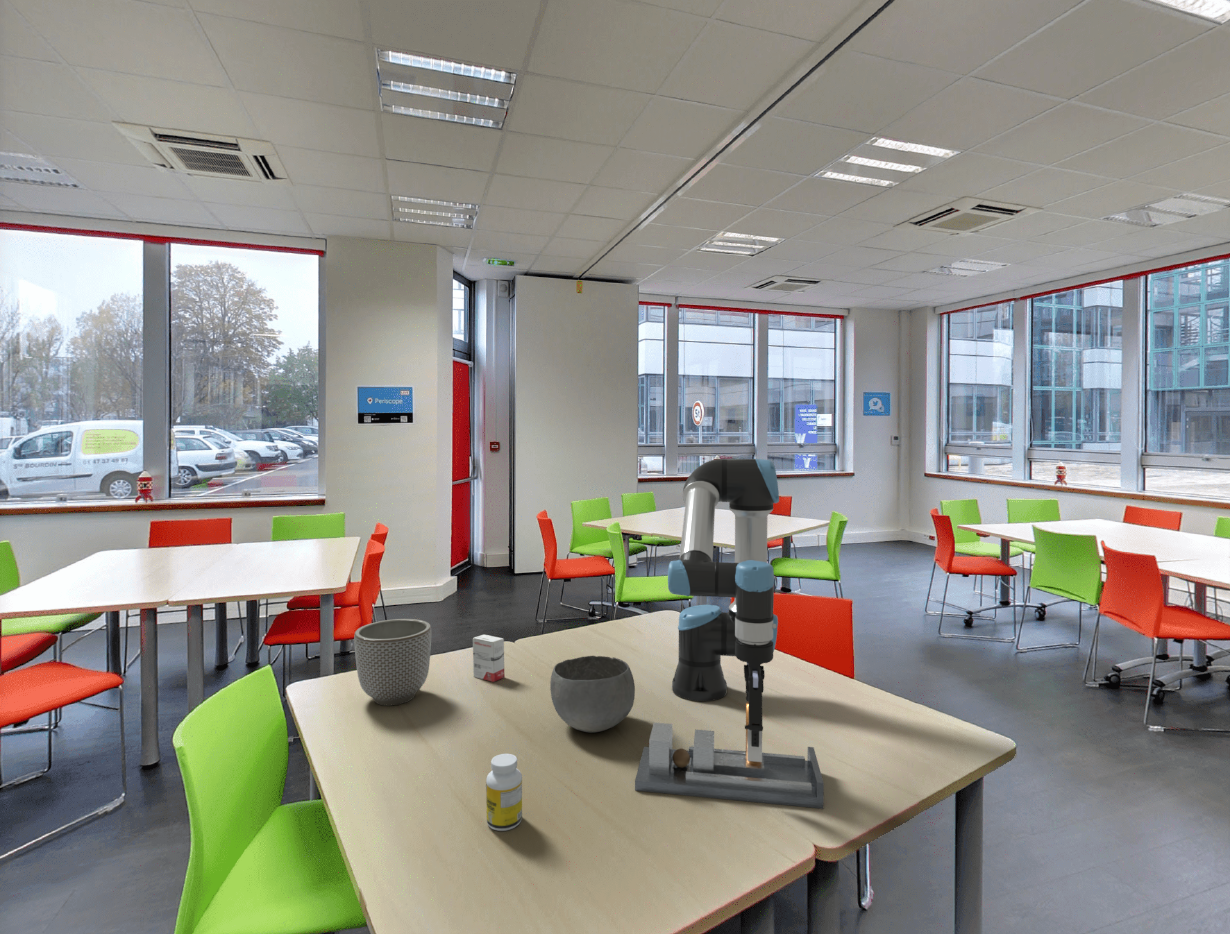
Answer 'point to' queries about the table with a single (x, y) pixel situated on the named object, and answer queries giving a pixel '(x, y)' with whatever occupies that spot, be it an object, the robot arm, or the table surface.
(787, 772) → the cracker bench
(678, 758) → the walnut
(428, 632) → the planter
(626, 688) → the bowl
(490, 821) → the pill bottle
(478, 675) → the ink box
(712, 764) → the ram handle
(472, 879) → the table surface
